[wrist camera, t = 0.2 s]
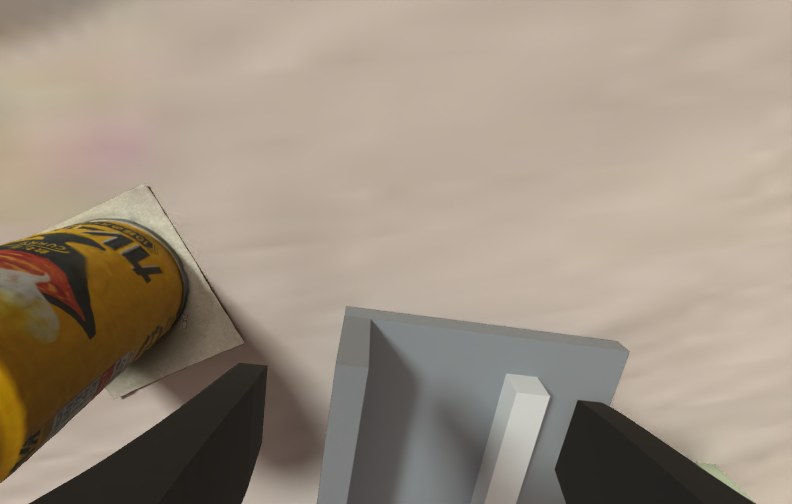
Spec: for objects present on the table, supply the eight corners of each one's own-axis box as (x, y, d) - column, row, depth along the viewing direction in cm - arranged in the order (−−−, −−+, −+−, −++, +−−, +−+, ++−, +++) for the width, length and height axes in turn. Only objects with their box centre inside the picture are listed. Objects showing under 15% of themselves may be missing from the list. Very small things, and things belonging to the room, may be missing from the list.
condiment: (146, 182, 17) (-343, 281, 5) (246, 341, 19) (51, 644, 8) (5, 249, 17) (-715, 467, 6) (118, 395, 20) (-241, 754, 8)
